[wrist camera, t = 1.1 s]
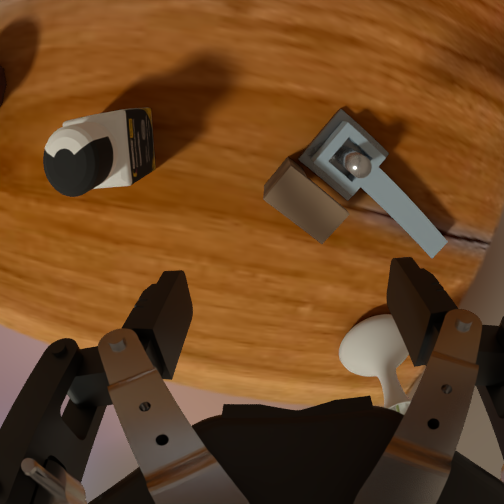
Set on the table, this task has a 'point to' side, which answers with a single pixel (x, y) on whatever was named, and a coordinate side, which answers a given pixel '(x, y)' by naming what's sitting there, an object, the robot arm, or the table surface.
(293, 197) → the block
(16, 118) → the table surface
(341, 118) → the pintle block
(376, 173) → the link
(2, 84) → the muffin
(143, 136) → the medicine bottle
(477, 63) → the table surface
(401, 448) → the robot arm
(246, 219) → the table surface
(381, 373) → the flower in vase
